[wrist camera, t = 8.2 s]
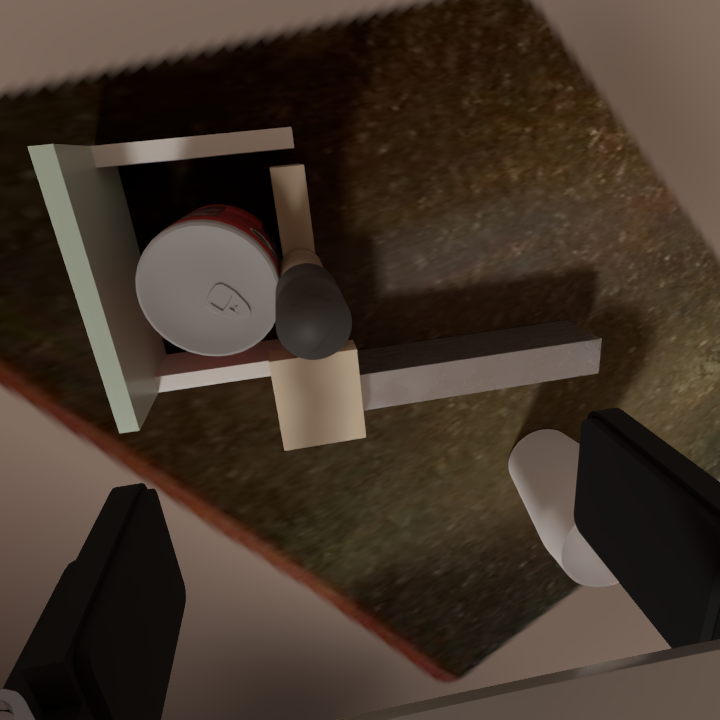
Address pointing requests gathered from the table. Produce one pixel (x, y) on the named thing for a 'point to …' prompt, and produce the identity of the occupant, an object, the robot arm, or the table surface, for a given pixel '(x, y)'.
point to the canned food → (211, 281)
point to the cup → (556, 502)
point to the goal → (133, 266)
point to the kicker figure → (310, 332)
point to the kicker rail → (476, 363)
